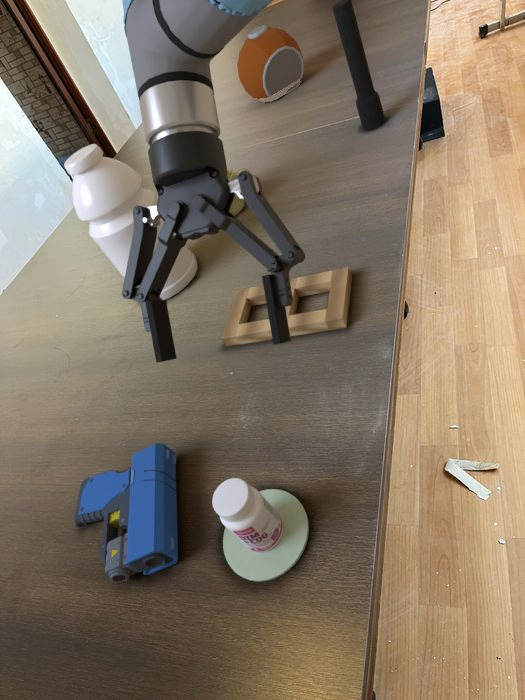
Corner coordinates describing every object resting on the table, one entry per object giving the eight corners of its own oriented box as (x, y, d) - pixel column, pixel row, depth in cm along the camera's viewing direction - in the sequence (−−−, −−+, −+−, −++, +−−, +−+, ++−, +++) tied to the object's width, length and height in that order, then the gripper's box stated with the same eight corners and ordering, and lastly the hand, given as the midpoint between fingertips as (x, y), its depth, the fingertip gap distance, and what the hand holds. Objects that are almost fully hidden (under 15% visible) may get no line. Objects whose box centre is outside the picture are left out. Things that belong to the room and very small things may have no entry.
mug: (196, 227, 105) (185, 179, 100) (209, 215, 114) (200, 170, 109) (252, 221, 102) (243, 171, 97) (261, 209, 111) (253, 162, 106)
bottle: (127, 296, 102) (31, 178, 83) (172, 253, 106) (91, 132, 88) (165, 310, 92) (66, 180, 74) (212, 262, 97) (130, 128, 79)
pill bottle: (257, 563, 51) (220, 530, 46) (237, 530, 55) (200, 495, 49) (292, 533, 52) (260, 496, 46) (270, 501, 55) (238, 464, 50)
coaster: (314, 489, 54) (313, 488, 54) (302, 585, 48) (300, 583, 48) (235, 491, 59) (234, 489, 58) (214, 578, 52) (213, 577, 52)
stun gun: (53, 596, 55) (162, 548, 52) (72, 479, 67) (162, 433, 64) (80, 606, 58) (185, 561, 55) (94, 491, 70) (181, 448, 66)
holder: (352, 276, 76) (348, 266, 75) (346, 327, 69) (342, 318, 68) (241, 298, 84) (236, 290, 83) (226, 346, 77) (221, 338, 76)
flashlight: (388, 115, 107) (366, 120, 110) (357, -8, 92) (333, 1, 95) (381, 127, 105) (359, 132, 108) (349, 3, 89) (324, 12, 92)
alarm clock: (290, 73, 155) (268, 13, 143) (320, 76, 141) (299, 10, 130) (241, 106, 153) (216, 48, 141) (268, 112, 139) (242, 48, 128)
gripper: (313, 113, 47) (349, 330, 48) (113, 185, 58) (146, 362, 59) (285, 84, 41) (327, 337, 42) (64, 170, 51) (102, 371, 52)
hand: (221, 352), depth 50 cm, fingers open, 13 cm apart
